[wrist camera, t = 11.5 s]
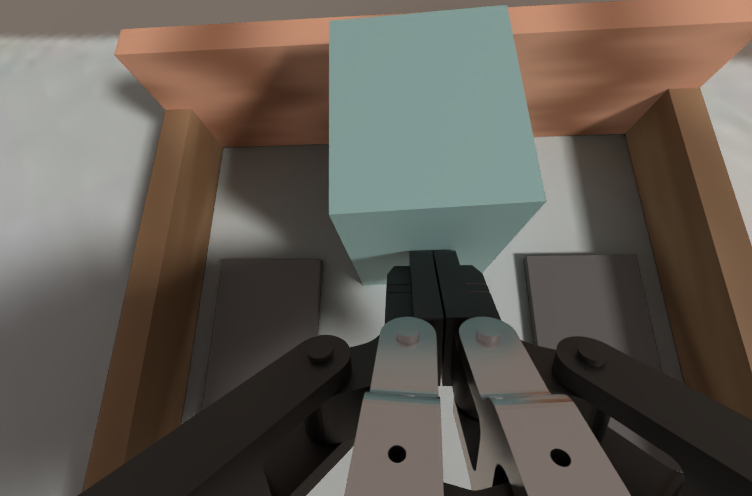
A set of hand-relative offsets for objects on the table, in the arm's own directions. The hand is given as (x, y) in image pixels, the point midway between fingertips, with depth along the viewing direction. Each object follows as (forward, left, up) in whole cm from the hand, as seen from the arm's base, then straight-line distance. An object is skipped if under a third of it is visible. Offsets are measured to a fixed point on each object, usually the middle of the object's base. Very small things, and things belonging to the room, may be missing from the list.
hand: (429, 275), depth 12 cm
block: (0, +4, -4) cm, 5 cm away
